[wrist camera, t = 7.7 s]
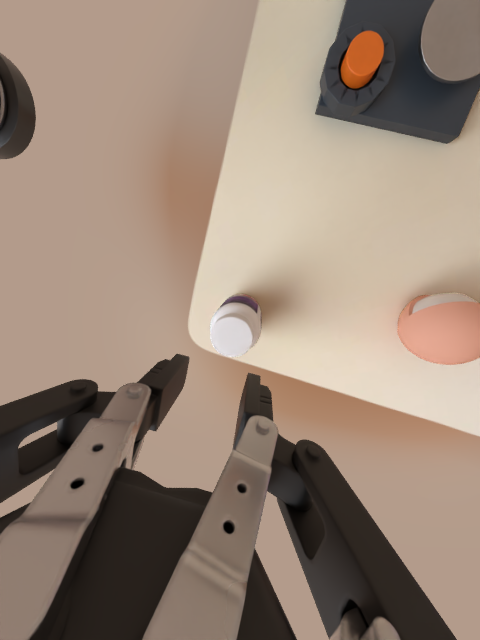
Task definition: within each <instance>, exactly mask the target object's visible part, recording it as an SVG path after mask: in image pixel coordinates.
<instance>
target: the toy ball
mask: <svg viewBox="0 0 480 640" xmlns="http://www.w3.org/2000/svg"><path fill="white" fill-rule="evenodd" d="M398 335H399V338H400V340H401V341H402V343H403V344H404V346H405V347H406V348H407V349H408V350H409V351H410V352H412V353H413V354H414V355H416V356H418V357H419V358H421V359H424V360H426V361H429V362H433V363H437V364H446V365H454V364H462V363H466V362H470V361H473V360H475V359H477V358H479V357H480V303H478V302H477V301H475V300H474V299H472V298H471V297H469V296H467V295H464V294H462V293H441V294H435V295H422V296H419V297H417V298H415V299H414V300H412V301H411V302H410V303H409V304H408V305H407V306H406V307H405V308H404V309H403V311H402V312H401V314H400V317H399V320H398Z"/></svg>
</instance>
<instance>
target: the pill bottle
mask: <svg viewBox="0 0 480 640" xmlns="http://www.w3.org/2000/svg"><path fill="white" fill-rule="evenodd" d="M210 332H211V342H212V345H213V346H214V348H215V349H216V350H217V351H218V352H219V353H220V354H222V355H224V356H227V357H238V356H241V355H243V354H245V353H246V352H247V351H248V350H249V349H250V348H252V347H253V346H254V345H255V344H256V343H257V341H258V339H259V337H260V334H261V309H260V306H259V304H258V303H257V302H256V300H255V299H253V298H252V297H250V296H248V295H245V294H236V295H233V296H231V297H229V298H228V299H227V300H226V301H225V302H224V303H223V304H222V305H221V306H220V308H219V309H218V310H217V311H216V312H215V313H214V315H213V317H212V319H211V323H210Z"/></svg>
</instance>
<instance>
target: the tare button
mask: <svg viewBox="0 0 480 640" xmlns="http://www.w3.org/2000/svg"><path fill="white" fill-rule="evenodd" d="M383 54H384V44H383V40H382V38H381V37H380V35H379V34H378V33H376V32H374V31H364V32H362V33H360V34H358V35H357V36H356V37H355V38H354V39H353V40H352V42H351V43H350V45H349V47H348V50H347V52H346V55H345V57H344V60H343V62H342V66H341V77H342V80H343V82H344V84H345V85H346V86H348V87H350V88H353V89H356V88H360V87H362V86H364V85H366V84H367V83H368V82H369V81H370V79H371V78H372V76H373V75H374V73H375V71H376V70H377V68H378V66H379V65H380V63H381V61H382V58H383Z"/></svg>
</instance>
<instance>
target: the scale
mask: <svg viewBox="0 0 480 640" xmlns="http://www.w3.org/2000/svg"><path fill="white" fill-rule="evenodd" d="M433 2H434V0H346V3H345V7H344V10H343V14H342V18H341V21H340V25H339V29H338V32H337V36H336V40H335V42H334V43H333V45H332V46H331V47H330V49H329V52H328V55H327V58H326V61H325V65H324V69H323V72H322V76H321V80H320V87H321V94H320V98H319V102H318V105H317V109H316V113H315V114H318V115H322V116H327V117H331V118H335V119H340V120H344V121H349V122H353V123H358V124H362V125H366V126H371V127H375V128H380V129H384V130H389V131H393V132H397V133H402V134H406V135H411V136H415V137H420V138H424V139H429V140H433V141H437V142H442V143H446V144H448V143H449V142H451V141H452V140H454V139H455V138H457V137H458V136H459V134H460V132H461V130H462V128H463V125H464V123H465V121H466V118H467V116H468V114H469V111H470V109H471V107H472V104H473V102H474V100H475V97H476V95H477V93H478V90H479V88H480V74H478V75H477V76H475V77H473V78H472V79H469V80H467V81H464V82H461V83H456V84H446V83H441V82H438V81H436V80H434V79H433V78H432V77H430V76H429V75H428V74H427V73H426V71H425V70H424V68H423V66H422V64H421V61H420V58H419V52H418V41H419V34H420V29H421V26H422V23H423V20H424V18H425V15H426V13H427V12H428V10H429V8H430V6H431V5H432V3H433ZM364 31H374V32H376V33H378V34H379V35H380V37H381V38H382V40H383V44H384V54H383V58H382V61H381V63H380V65H379V66H378V68H377V70H376V71H375V73H374V75H373V76H372V78H371V79H370V81H369V82H368V83H367V84H366V85H364V86H362V87H360V88H356V89H353V88H350V87H348V86H346V85H345V84H344V82H343V80H342V77H341V66H342V62H343V60H344V57H345V55H346V52H347V50H348V47H349V45H350V43H351V42H352V40H353V39H354V38H355V37H356V36H357V35H358V34H360V33H362V32H364Z"/></svg>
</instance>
